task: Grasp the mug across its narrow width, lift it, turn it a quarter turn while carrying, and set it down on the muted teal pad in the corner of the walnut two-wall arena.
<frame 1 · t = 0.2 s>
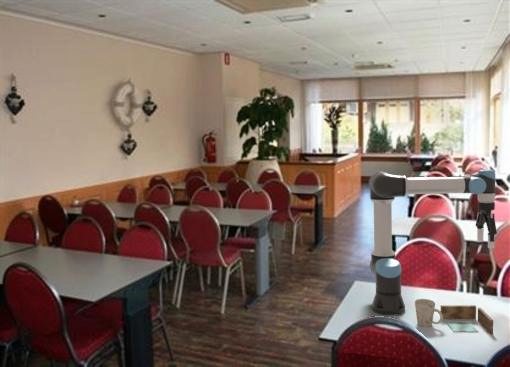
hand: (485, 244, 238), 28 cm above the table, fingers open, 13 cm apart
mug: (429, 325, 212), on the table
arena: (461, 327, 209), on the table
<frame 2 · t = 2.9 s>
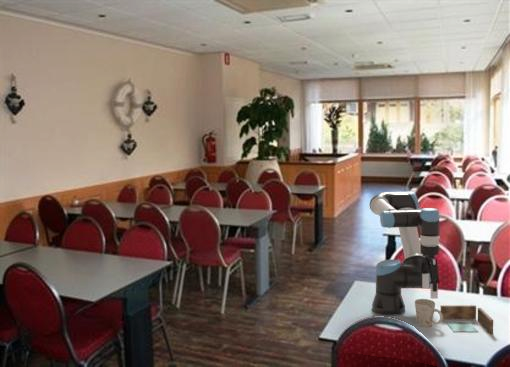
hand: (429, 293, 210), 14 cm above the table, fingers open, 13 cm apart
nothing on the table moved.
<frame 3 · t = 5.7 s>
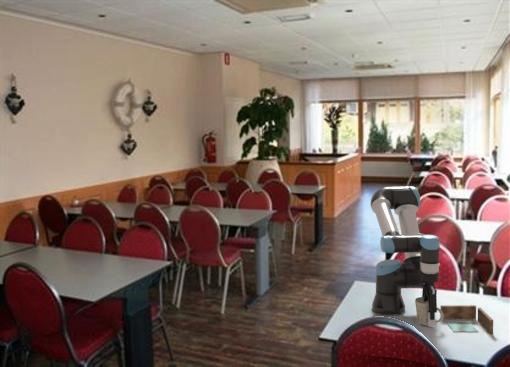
hand: (429, 322, 212), 1 cm above the table, fingers closed on mug, 7 cm apart
mug: (429, 324, 211), point 1 cm above the table, touching gripper
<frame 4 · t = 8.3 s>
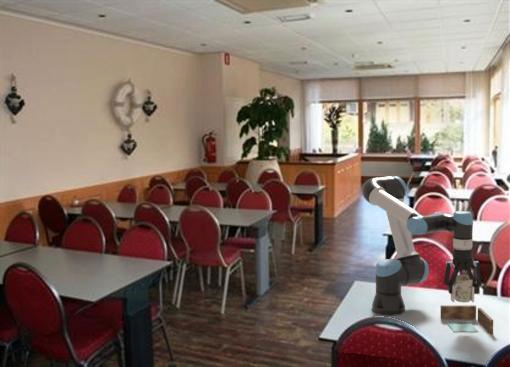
hand: (462, 300, 207), 12 cm above the table, fingers closed on mug, 7 cm apart
mug: (460, 302, 207), point 11 cm above the table, touching gripper
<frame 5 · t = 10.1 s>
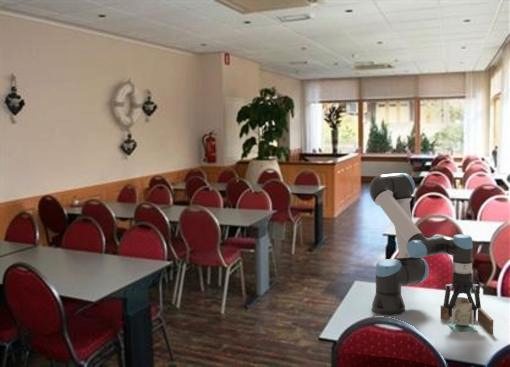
hand: (461, 323, 208), 2 cm above the table, fingers closed on mug, 7 cm apart
mug: (459, 324, 208), point 1 cm above the table, touching gripper
when the fingers open (2 cm above the table, at t = 10.8 s): mug drops 1 cm, resting on arena.
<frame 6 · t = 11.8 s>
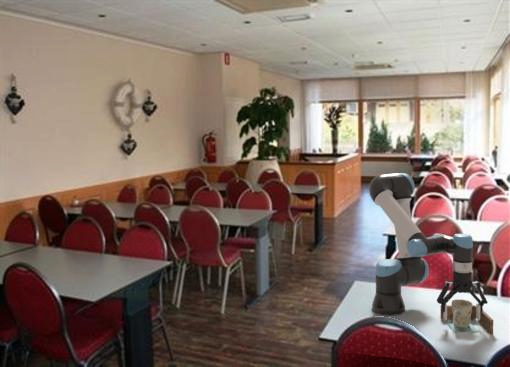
hand: (461, 319, 208), 4 cm above the table, fingers open, 13 cm apart
mug: (459, 327, 209), resting on arena
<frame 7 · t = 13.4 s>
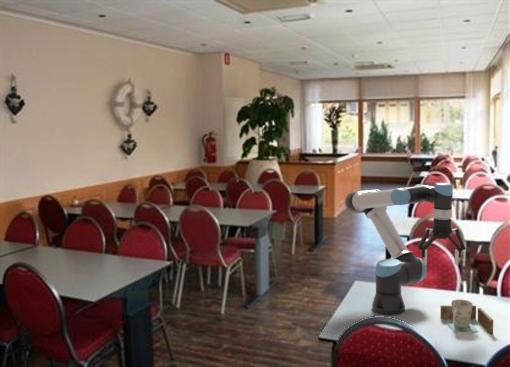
hand: (440, 264, 219), 24 cm above the table, fingers open, 13 cm apart
nothing on the table moved.
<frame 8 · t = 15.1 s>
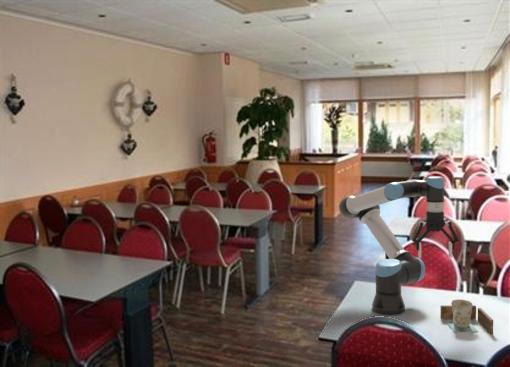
hand: (434, 256, 222), 27 cm above the table, fingers open, 13 cm apart
nothing on the table moved.
at the end: mug inside the target area on the arena (0.9 cm from its centre), point 0.1 cm above the arena's base; mug tilted 0°; the gripper is holding nothing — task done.
